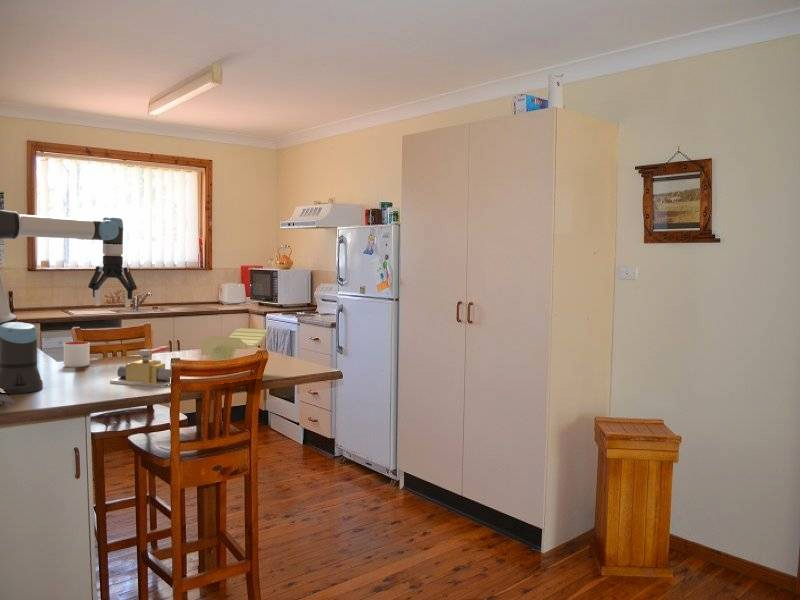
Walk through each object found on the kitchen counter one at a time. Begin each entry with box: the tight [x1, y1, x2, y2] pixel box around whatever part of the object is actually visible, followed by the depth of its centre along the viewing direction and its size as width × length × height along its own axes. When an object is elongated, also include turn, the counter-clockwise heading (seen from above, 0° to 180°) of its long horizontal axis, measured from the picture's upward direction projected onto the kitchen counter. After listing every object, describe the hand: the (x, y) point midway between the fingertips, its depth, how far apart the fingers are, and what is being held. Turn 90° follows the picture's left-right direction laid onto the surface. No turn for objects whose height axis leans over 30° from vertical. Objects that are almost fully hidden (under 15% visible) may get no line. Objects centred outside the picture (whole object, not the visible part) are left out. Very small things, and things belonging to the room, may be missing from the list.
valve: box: [109, 356, 172, 388], centre depth 241 cm, size 22×12×10 cm, turn 80°
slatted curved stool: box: [200, 327, 269, 361], centre depth 262 cm, size 30×16×18 cm, turn 171°
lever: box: [139, 345, 171, 357], centre depth 247 cm, size 17×4×2 cm, turn 170°
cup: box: [63, 341, 91, 368], centre depth 270 cm, size 10×10×10 cm
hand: (112, 306), depth 260 cm, fingers open, 13 cm apart
